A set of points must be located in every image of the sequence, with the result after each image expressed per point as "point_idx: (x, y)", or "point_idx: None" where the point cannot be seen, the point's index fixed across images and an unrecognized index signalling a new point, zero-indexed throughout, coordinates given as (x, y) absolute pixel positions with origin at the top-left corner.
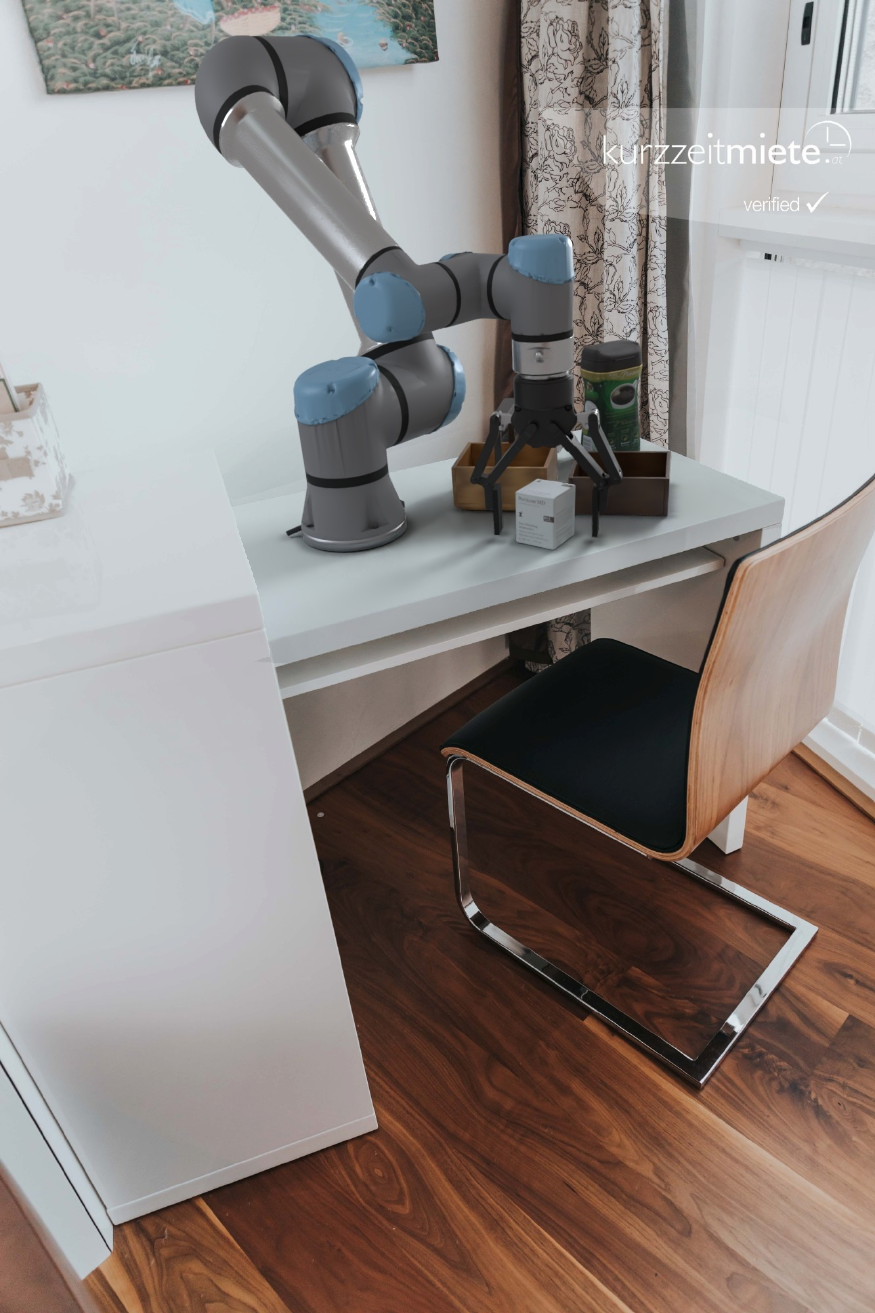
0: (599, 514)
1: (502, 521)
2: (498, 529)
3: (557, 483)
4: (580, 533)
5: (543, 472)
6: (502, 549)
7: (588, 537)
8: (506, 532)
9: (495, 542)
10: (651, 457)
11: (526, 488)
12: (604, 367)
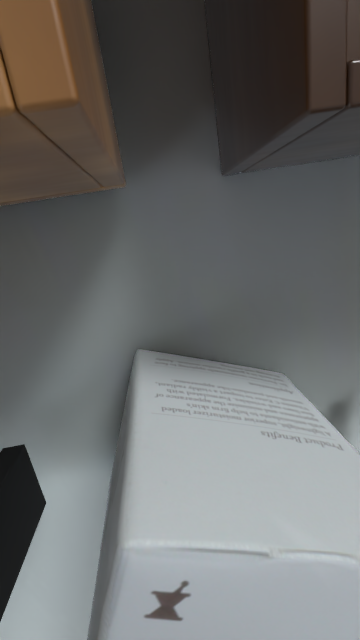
0: (358, 154)
1: (14, 471)
2: (35, 526)
3: (339, 605)
4: (302, 356)
5: (47, 134)
6: (87, 521)
7: (332, 380)
8: (38, 410)
9: (41, 487)
10: None
11: None
12: None
